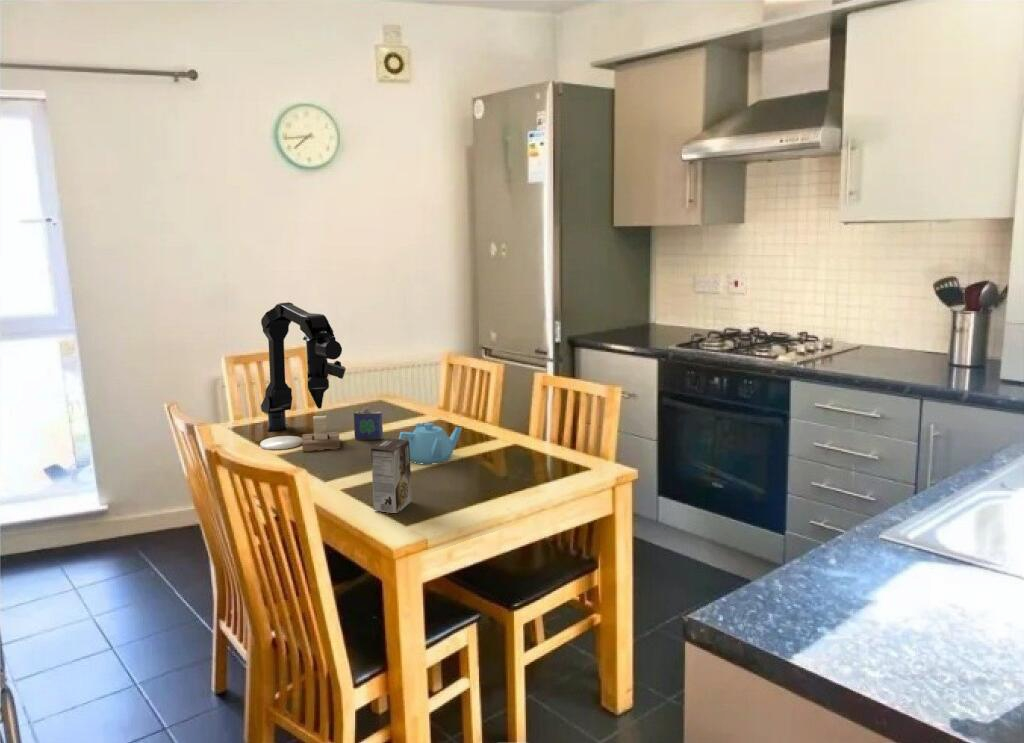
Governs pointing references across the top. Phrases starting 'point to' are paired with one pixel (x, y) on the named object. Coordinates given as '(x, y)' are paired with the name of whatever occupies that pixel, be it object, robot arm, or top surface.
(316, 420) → the block
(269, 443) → the plate
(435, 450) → the teapot
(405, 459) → the coffee box
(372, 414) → the flask
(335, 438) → the holder
